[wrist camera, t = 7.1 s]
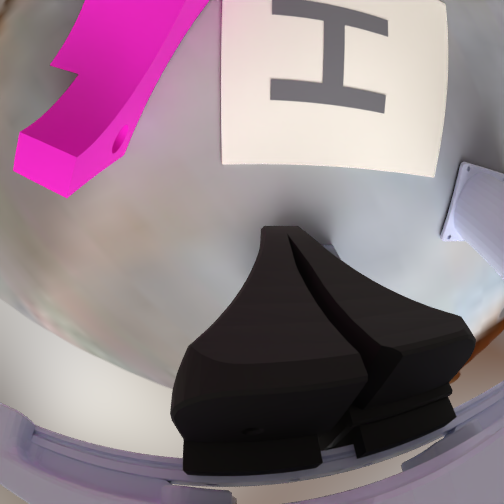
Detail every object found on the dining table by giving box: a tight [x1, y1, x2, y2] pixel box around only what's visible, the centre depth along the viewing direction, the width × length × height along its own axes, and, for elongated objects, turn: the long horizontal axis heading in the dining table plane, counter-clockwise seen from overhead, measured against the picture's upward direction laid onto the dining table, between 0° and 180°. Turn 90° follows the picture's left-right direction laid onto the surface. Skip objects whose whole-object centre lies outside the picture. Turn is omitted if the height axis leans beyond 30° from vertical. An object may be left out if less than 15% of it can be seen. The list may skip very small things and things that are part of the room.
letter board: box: [221, 0, 448, 178], centre depth 13 cm, size 17×16×1 cm
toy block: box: [13, 0, 209, 198], centre depth 9 cm, size 15×6×8 cm, turn 149°
